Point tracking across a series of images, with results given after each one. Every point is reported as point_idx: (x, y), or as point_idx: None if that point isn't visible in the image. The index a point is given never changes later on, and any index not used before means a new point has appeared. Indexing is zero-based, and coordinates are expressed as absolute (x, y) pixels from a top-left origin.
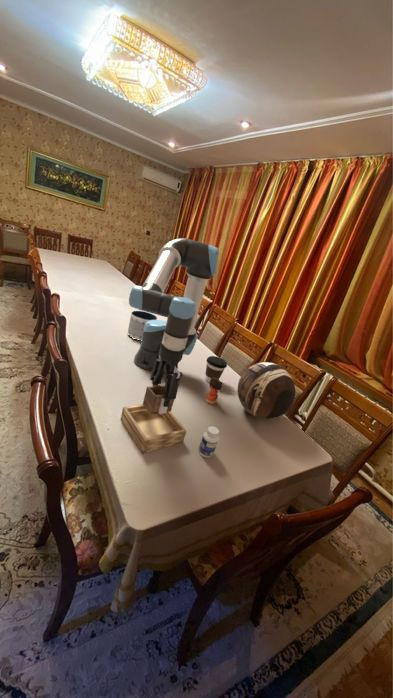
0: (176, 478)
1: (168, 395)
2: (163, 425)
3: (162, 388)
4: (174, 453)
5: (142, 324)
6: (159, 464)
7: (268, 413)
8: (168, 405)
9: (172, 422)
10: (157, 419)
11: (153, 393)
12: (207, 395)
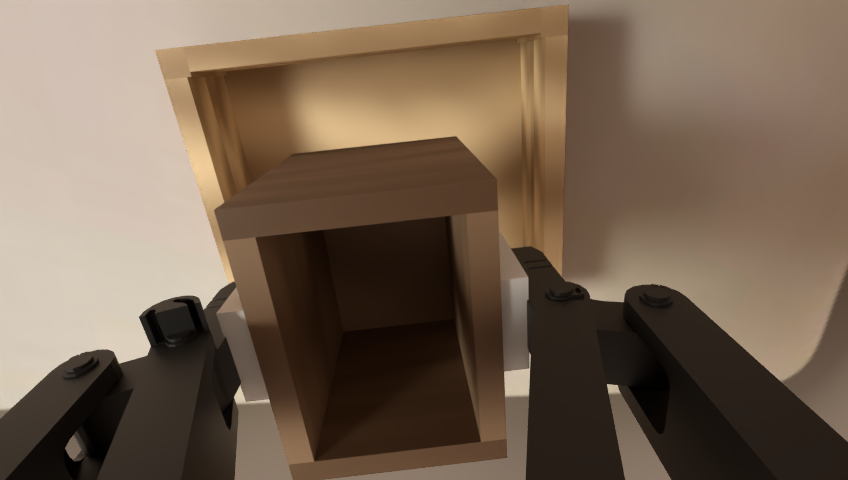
0: (728, 182)
1: (646, 413)
2: (373, 96)
3: (279, 276)
4: (594, 121)
5: None
6: (624, 226)
7: None
8: (541, 256)
9: (405, 49)
10: (307, 113)
11: (443, 458)
12: None
